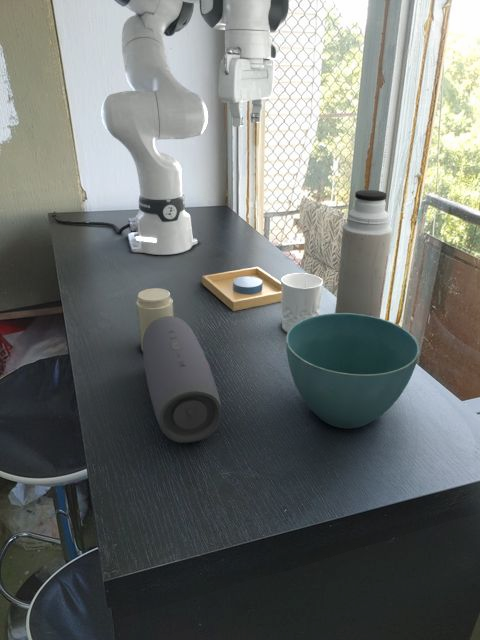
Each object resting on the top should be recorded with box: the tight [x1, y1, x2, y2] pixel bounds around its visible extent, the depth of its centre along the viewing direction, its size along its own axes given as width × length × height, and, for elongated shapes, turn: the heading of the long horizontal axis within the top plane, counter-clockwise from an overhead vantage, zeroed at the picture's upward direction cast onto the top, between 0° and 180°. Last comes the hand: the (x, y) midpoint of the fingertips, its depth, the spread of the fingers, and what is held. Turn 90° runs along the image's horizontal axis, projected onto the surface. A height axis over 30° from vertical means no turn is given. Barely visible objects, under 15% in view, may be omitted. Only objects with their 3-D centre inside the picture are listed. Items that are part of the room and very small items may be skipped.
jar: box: [135, 287, 175, 352], centre depth 92 cm, size 6×6×10 cm
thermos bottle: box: [334, 189, 393, 319], centre depth 90 cm, size 8×8×28 cm
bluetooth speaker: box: [142, 316, 223, 444], centre depth 77 cm, size 23×9×10 cm, turn 17°
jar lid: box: [233, 276, 263, 294], centre depth 118 cm, size 7×7×2 cm
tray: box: [201, 266, 281, 312], centre depth 118 cm, size 17×15×2 cm
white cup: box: [280, 272, 324, 333], centre depth 100 cm, size 8×8×10 cm
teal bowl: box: [285, 312, 420, 430], centre depth 75 cm, size 18×18×12 cm
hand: (247, 124), depth 110 cm, fingers open, 8 cm apart
